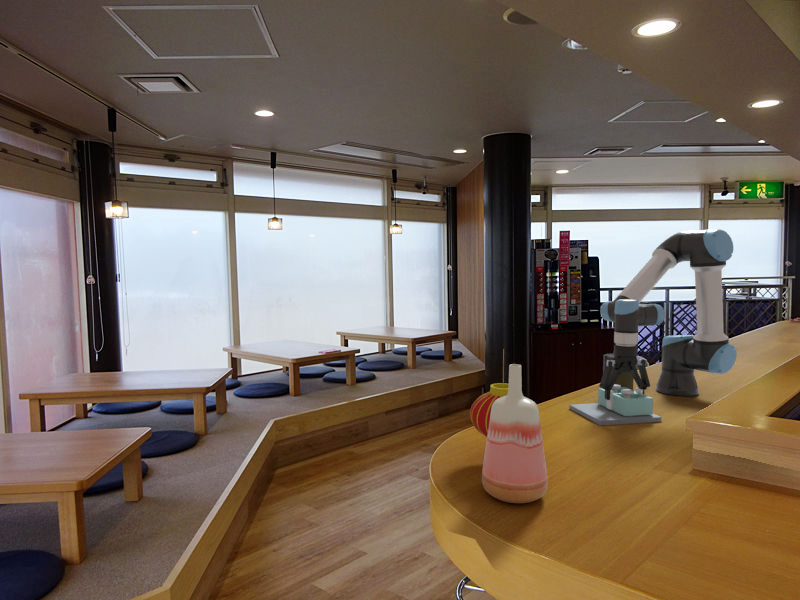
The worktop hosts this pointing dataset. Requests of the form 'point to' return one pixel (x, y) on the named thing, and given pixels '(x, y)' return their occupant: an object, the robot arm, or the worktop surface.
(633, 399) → the teal breeze block
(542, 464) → the vase
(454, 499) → the worktop surface
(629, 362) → the robot arm
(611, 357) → the canister
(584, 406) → the board
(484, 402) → the lantern
